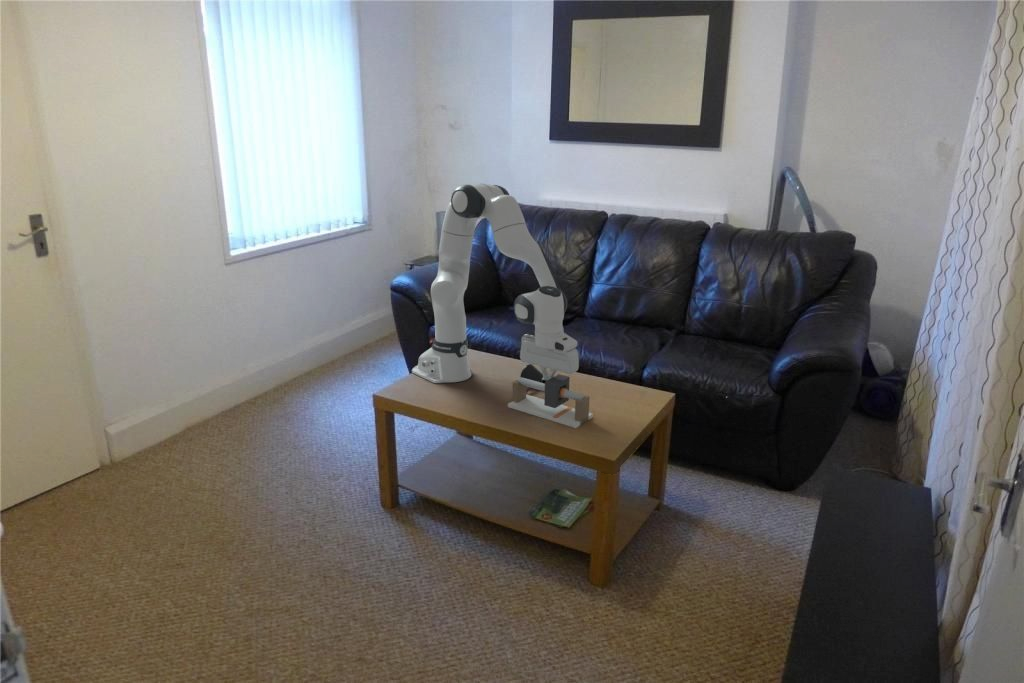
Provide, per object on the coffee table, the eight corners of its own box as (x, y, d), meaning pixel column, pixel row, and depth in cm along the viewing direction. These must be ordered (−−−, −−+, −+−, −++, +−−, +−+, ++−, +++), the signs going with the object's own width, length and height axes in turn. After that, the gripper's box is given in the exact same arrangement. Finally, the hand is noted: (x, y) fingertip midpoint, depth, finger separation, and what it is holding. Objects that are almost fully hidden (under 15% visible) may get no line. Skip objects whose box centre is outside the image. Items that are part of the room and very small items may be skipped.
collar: (544, 405, 222) (544, 381, 219) (558, 397, 228) (558, 374, 225) (555, 408, 219) (555, 384, 217) (568, 400, 226) (569, 376, 223)
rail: (507, 407, 230) (508, 380, 227) (525, 397, 238) (525, 371, 234) (575, 428, 215) (577, 399, 212) (592, 417, 223) (593, 389, 220)
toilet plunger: (532, 378, 253) (551, 387, 249) (499, 399, 241) (518, 409, 237) (533, 360, 250) (552, 369, 245) (500, 380, 237) (519, 390, 233)
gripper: (516, 335, 222) (515, 375, 227) (571, 347, 211) (569, 390, 215) (527, 330, 227) (527, 370, 232) (582, 342, 216) (580, 384, 220)
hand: (548, 380), depth 223 cm, fingers closed
